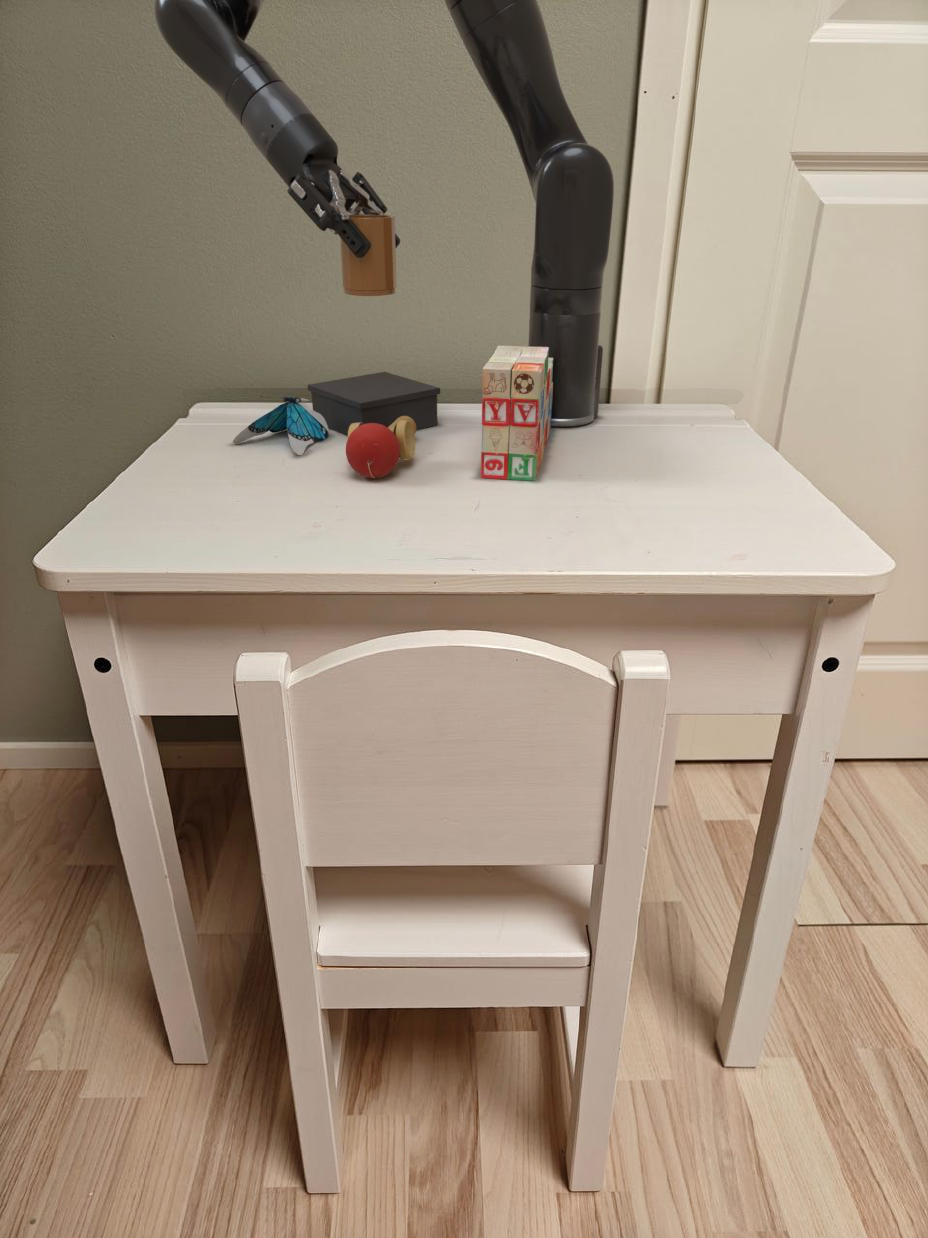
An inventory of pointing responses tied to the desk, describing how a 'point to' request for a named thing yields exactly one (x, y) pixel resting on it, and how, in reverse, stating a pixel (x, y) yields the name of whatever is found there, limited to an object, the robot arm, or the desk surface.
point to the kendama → (380, 446)
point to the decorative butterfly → (289, 424)
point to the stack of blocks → (516, 412)
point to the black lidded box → (374, 401)
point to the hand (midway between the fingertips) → (380, 249)
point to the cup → (371, 258)
